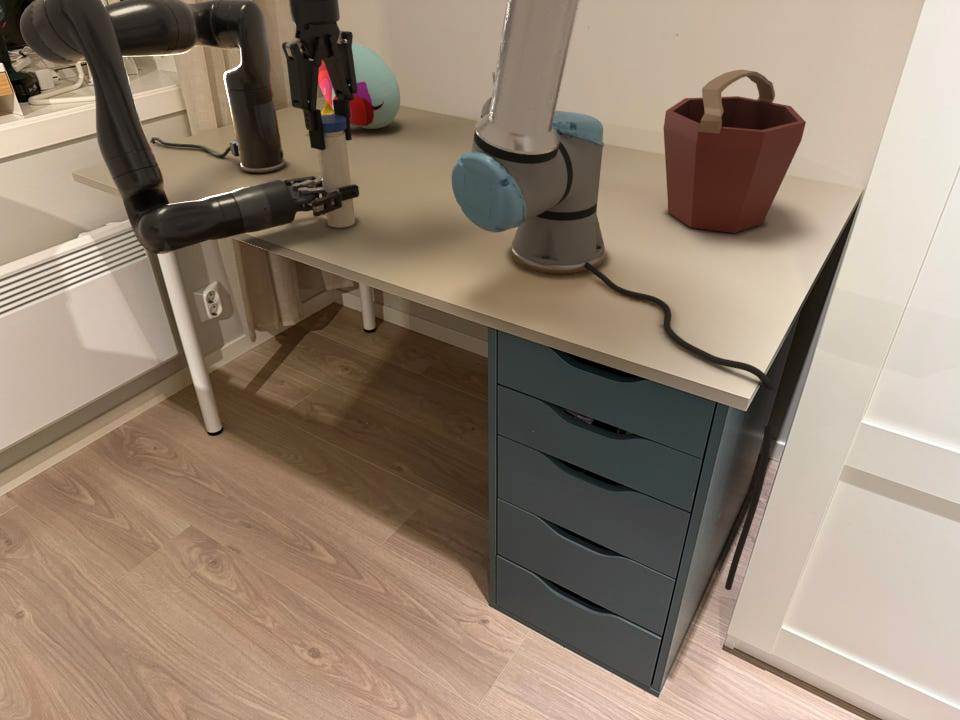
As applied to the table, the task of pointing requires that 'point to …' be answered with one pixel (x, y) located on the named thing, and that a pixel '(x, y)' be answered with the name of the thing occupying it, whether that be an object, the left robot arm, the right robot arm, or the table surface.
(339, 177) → the jar
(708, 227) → the bucket
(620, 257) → the table surface
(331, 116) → the lid
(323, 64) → the toy
